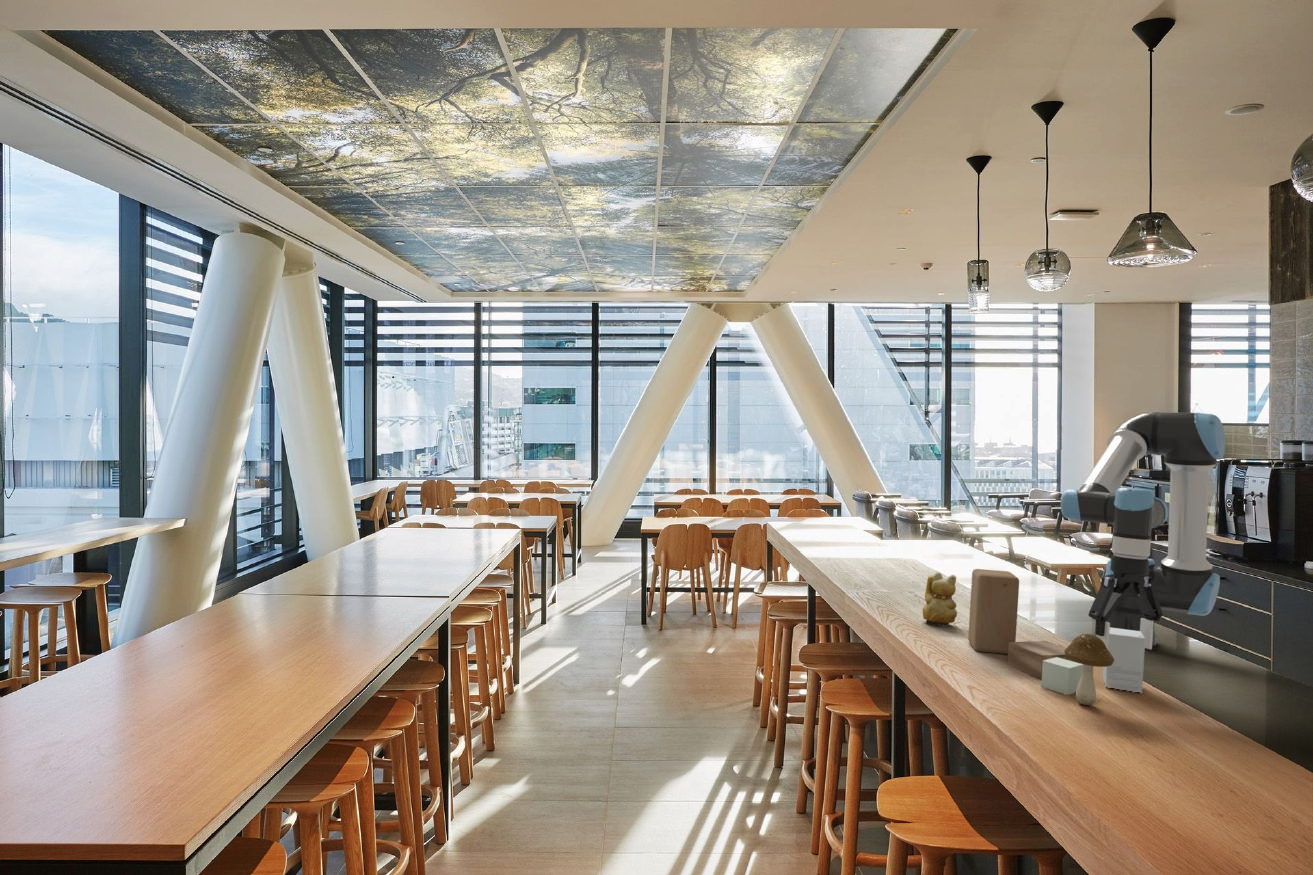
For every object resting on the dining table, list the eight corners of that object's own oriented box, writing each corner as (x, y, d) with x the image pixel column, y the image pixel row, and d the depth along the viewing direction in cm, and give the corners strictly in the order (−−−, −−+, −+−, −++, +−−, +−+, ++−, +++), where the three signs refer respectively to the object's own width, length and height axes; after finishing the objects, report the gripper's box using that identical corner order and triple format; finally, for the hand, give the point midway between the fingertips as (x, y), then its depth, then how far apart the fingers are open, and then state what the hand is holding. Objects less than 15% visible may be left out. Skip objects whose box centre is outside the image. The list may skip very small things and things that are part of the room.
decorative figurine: (958, 624, 236) (961, 573, 236) (952, 630, 229) (955, 577, 229) (924, 618, 241) (927, 569, 241) (917, 624, 234) (920, 572, 234)
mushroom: (1066, 711, 166) (1071, 638, 165) (1056, 693, 177) (1061, 625, 176) (1117, 718, 163) (1121, 644, 163) (1103, 700, 174) (1108, 631, 174)
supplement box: (1138, 685, 186) (1141, 630, 186) (1142, 694, 179) (1146, 638, 179) (1101, 679, 189) (1105, 625, 189) (1104, 688, 183) (1108, 632, 182)
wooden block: (1015, 655, 206) (1020, 577, 205) (974, 651, 208) (978, 574, 207) (1006, 645, 215) (1011, 571, 215) (967, 641, 217) (971, 567, 217)
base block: (1044, 664, 200) (1045, 640, 200) (1079, 679, 189) (1080, 653, 189) (1007, 666, 197) (1008, 642, 197) (1040, 681, 186) (1042, 655, 186)
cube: (1055, 683, 185) (1056, 657, 185) (1081, 691, 180) (1083, 664, 180) (1041, 686, 181) (1042, 660, 181) (1067, 695, 176) (1069, 668, 176)
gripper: (1154, 553, 192) (1148, 642, 192) (1075, 553, 183) (1068, 646, 183) (1184, 558, 185) (1178, 651, 185) (1103, 558, 176) (1097, 655, 176)
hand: (1123, 648), depth 184 cm, fingers open, 13 cm apart
